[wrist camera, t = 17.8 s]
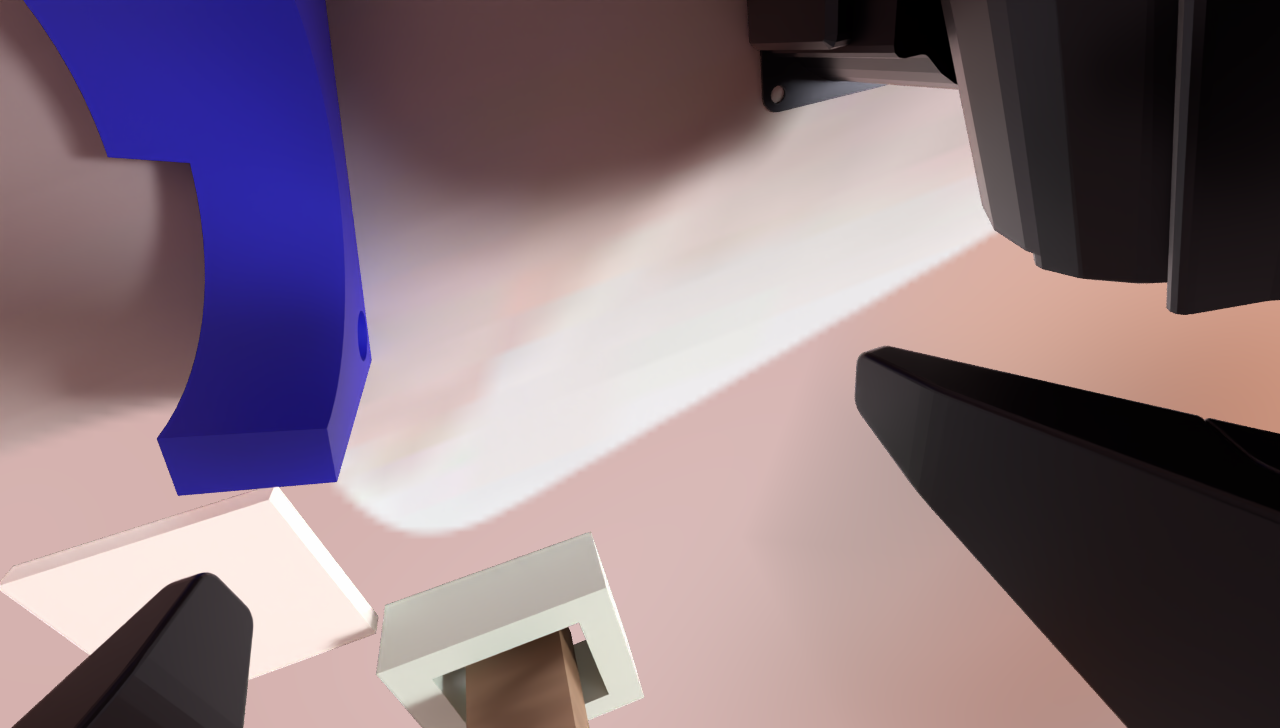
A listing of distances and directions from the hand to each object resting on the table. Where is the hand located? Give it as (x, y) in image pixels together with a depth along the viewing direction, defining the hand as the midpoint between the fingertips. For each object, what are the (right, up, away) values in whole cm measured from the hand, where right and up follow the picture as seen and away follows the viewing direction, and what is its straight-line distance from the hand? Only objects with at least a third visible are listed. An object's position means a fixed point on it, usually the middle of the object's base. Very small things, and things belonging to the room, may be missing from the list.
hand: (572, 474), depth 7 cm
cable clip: (-9, +7, +7) cm, 13 cm away
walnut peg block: (-5, -11, +18) cm, 22 cm away
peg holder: (-5, -11, +18) cm, 22 cm away
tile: (-15, -7, +12) cm, 20 cm away
